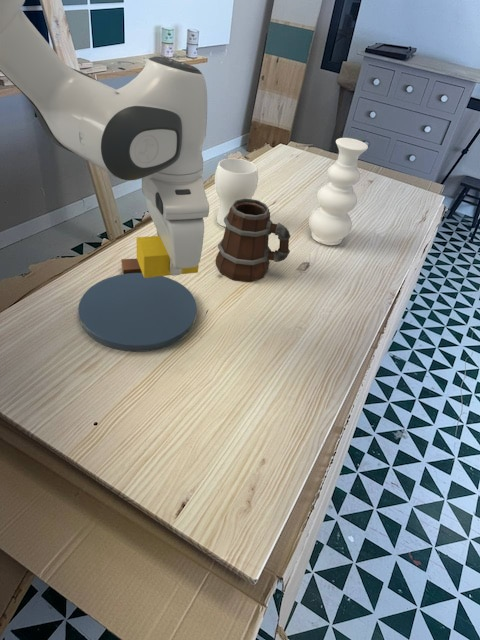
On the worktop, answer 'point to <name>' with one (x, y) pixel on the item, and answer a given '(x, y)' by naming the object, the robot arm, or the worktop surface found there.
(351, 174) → the vase
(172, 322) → the plate
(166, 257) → the yellow block
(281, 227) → the mug
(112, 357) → the worktop surface
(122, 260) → the brown box
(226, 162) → the cup
